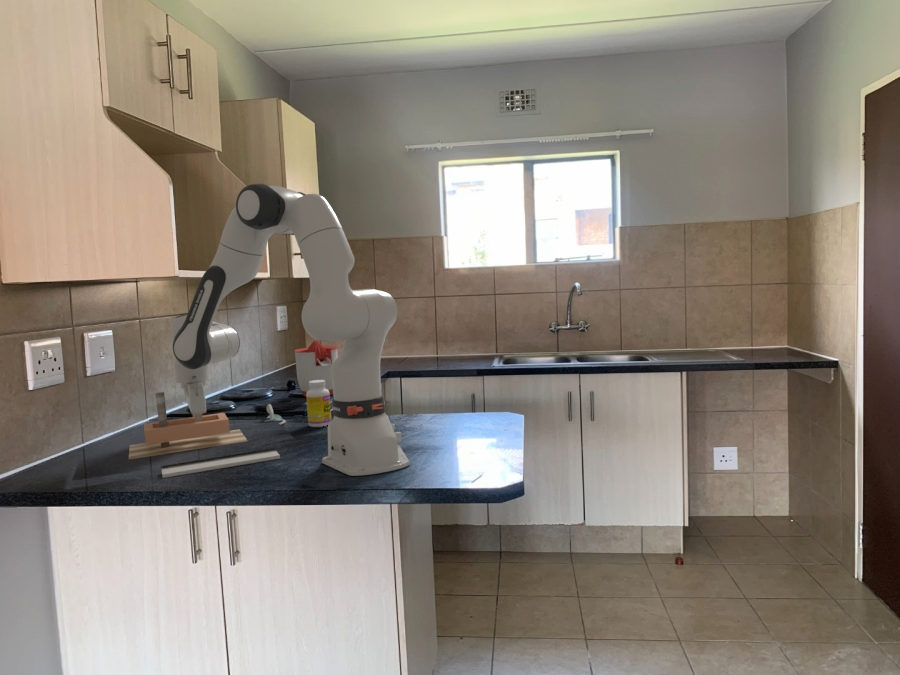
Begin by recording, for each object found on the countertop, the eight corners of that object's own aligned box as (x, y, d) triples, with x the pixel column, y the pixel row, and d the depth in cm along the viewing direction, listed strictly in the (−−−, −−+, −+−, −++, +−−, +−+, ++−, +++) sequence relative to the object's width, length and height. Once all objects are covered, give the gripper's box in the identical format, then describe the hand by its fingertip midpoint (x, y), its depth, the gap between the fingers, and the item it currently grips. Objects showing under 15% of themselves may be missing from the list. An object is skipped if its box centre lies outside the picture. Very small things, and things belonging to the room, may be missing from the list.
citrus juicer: (307, 401, 235) (302, 344, 233) (292, 395, 250) (287, 341, 248) (349, 395, 243) (345, 339, 241) (332, 389, 258) (328, 336, 256)
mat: (280, 458, 163) (279, 455, 163) (162, 477, 152) (162, 474, 152) (270, 446, 175) (269, 443, 175) (160, 463, 165) (160, 460, 165)
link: (229, 432, 177) (228, 419, 176) (145, 445, 168) (144, 431, 168) (225, 425, 186) (224, 412, 185) (145, 436, 178) (144, 423, 177)
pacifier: (287, 421, 206) (267, 422, 205) (286, 401, 205) (266, 401, 205) (283, 426, 199) (262, 427, 198) (282, 405, 198) (261, 406, 198)
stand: (248, 446, 176) (242, 387, 175) (129, 465, 165) (122, 402, 163) (240, 434, 191) (235, 379, 189) (130, 450, 179) (123, 392, 178)
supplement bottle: (326, 427, 193) (323, 382, 192) (304, 427, 194) (301, 383, 193) (335, 422, 199) (331, 378, 198) (314, 422, 201) (310, 379, 199)
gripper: (209, 377, 172) (214, 430, 174) (202, 368, 191) (207, 417, 192) (182, 380, 170) (188, 434, 171) (178, 371, 188) (183, 420, 190)
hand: (198, 425), depth 182 cm, fingers closed on link, 2 cm apart
